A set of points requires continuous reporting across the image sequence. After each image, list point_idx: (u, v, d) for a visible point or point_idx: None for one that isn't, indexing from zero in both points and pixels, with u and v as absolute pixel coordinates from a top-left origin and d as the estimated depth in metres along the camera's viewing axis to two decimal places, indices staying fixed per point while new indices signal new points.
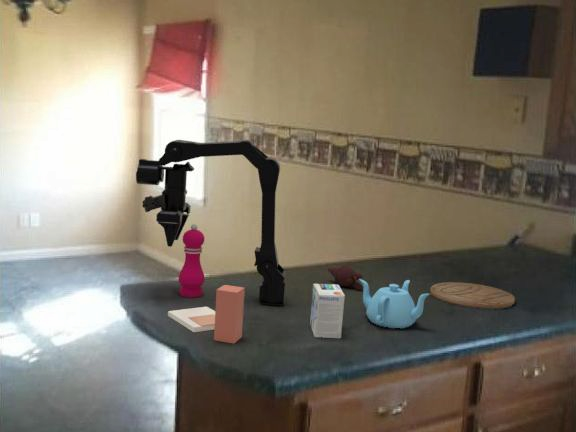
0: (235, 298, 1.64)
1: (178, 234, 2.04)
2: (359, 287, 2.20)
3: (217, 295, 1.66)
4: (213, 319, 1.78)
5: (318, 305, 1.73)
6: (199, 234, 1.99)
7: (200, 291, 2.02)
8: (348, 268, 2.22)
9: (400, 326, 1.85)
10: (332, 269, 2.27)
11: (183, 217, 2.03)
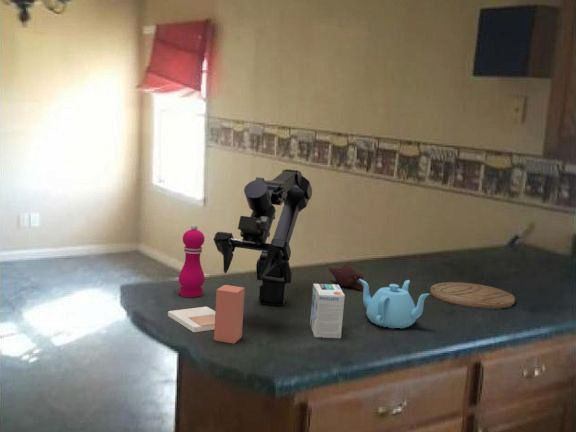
0: (235, 298, 1.64)
1: (228, 268, 1.77)
2: (360, 287, 2.20)
3: (217, 295, 1.66)
4: (213, 319, 1.78)
5: (318, 305, 1.73)
6: (199, 234, 1.99)
7: (200, 291, 2.02)
8: (349, 268, 2.22)
9: (400, 326, 1.85)
10: (333, 269, 2.27)
11: (232, 254, 1.81)
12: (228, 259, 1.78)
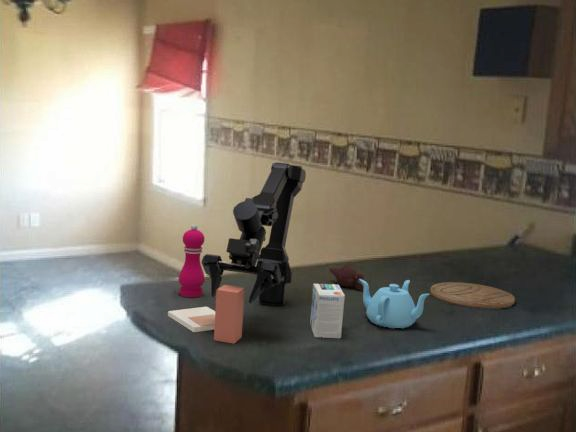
0: (235, 298, 1.64)
1: None
2: (360, 287, 2.20)
3: (217, 295, 1.66)
4: (213, 319, 1.78)
5: (318, 305, 1.73)
6: (199, 234, 1.99)
7: (200, 291, 2.02)
8: (350, 268, 2.22)
9: (400, 326, 1.85)
10: (334, 269, 2.27)
11: (220, 277, 1.75)
12: (216, 283, 1.71)
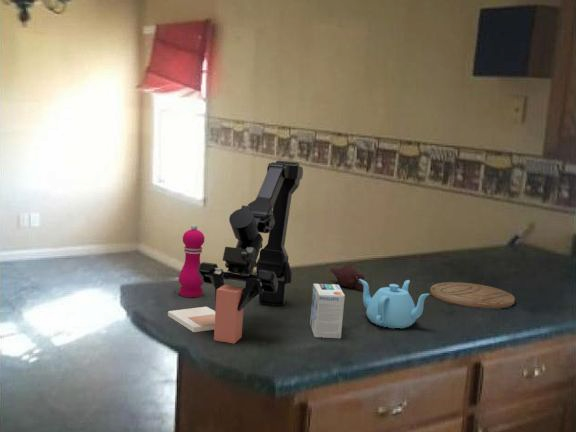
0: (235, 298, 1.64)
1: None
2: (361, 288, 2.20)
3: (217, 295, 1.66)
4: (213, 319, 1.78)
5: (318, 305, 1.73)
6: (199, 234, 1.99)
7: (200, 291, 2.02)
8: (350, 268, 2.22)
9: (400, 326, 1.85)
10: (335, 269, 2.27)
11: None
12: None
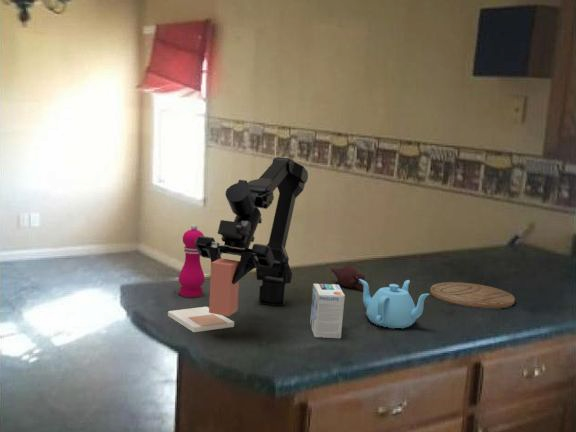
0: (229, 271, 1.66)
1: None
2: (361, 288, 2.19)
3: (212, 268, 1.67)
4: (213, 319, 1.78)
5: (318, 305, 1.73)
6: (199, 234, 1.99)
7: (200, 291, 2.02)
8: (351, 269, 2.22)
9: (400, 326, 1.85)
10: (335, 269, 2.27)
11: None
12: None
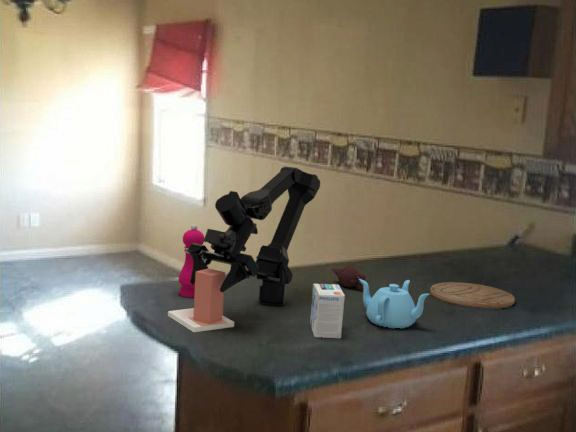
0: (210, 280, 1.72)
1: None
2: (362, 288, 2.19)
3: (196, 277, 1.75)
4: None
5: (318, 305, 1.73)
6: (199, 234, 1.99)
7: None
8: (352, 269, 2.22)
9: (400, 326, 1.85)
10: (336, 270, 2.27)
11: (205, 266, 1.82)
12: None
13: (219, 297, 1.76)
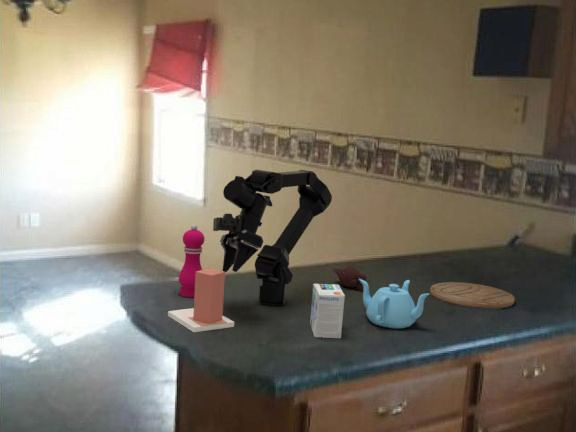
0: (210, 280, 1.72)
1: (229, 266, 1.90)
2: None
3: (196, 277, 1.75)
4: None
5: (318, 305, 1.73)
6: (199, 234, 1.99)
7: None
8: (353, 269, 2.22)
9: (400, 326, 1.85)
10: (337, 270, 2.26)
11: None
12: (228, 258, 1.90)
13: (219, 297, 1.76)
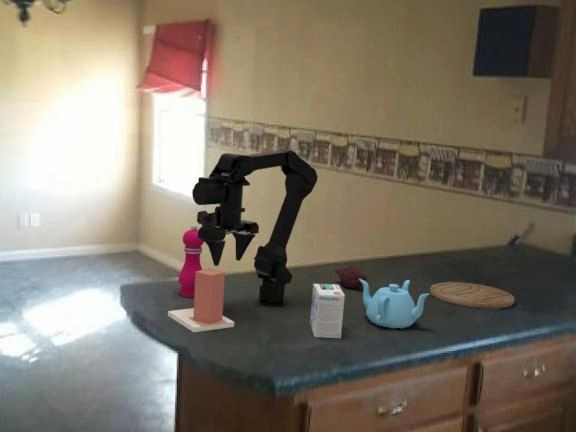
0: (210, 280, 1.72)
1: (240, 254, 1.91)
2: None
3: (196, 277, 1.75)
4: None
5: (318, 305, 1.73)
6: None
7: None
8: (354, 269, 2.22)
9: (400, 326, 1.85)
10: (339, 270, 2.26)
11: (246, 237, 1.90)
12: (238, 246, 1.91)
13: (219, 297, 1.76)
